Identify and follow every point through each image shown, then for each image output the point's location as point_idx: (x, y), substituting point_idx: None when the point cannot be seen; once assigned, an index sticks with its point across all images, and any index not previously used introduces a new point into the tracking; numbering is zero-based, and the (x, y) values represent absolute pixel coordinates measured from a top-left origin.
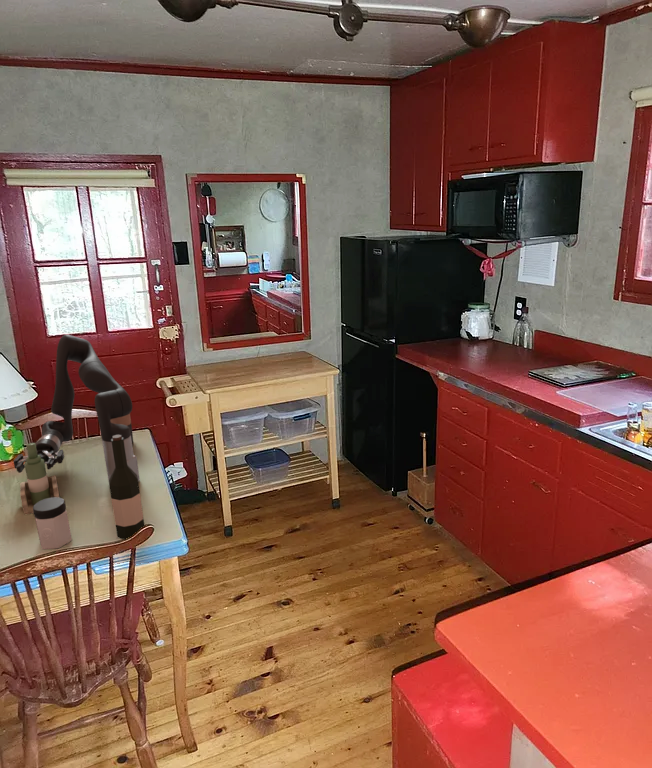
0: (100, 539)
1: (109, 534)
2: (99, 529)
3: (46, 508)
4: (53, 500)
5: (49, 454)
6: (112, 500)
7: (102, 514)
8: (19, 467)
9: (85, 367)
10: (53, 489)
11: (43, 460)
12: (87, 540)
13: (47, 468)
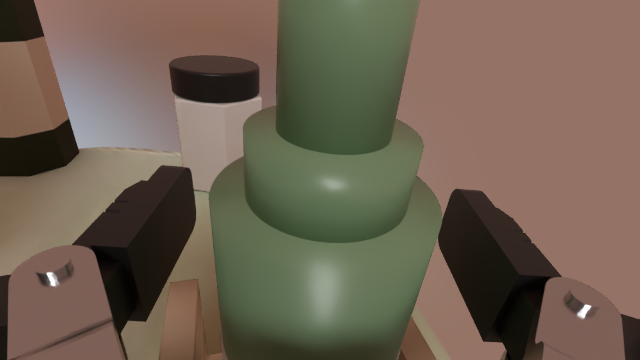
0: (119, 157)
1: (89, 164)
2: (101, 183)
3: (222, 58)
4: (200, 66)
5: (52, 342)
6: (45, 42)
7: (41, 243)
8: (455, 192)
9: None
10: (196, 282)
11: (215, 194)
12: (149, 161)
13: (194, 209)
